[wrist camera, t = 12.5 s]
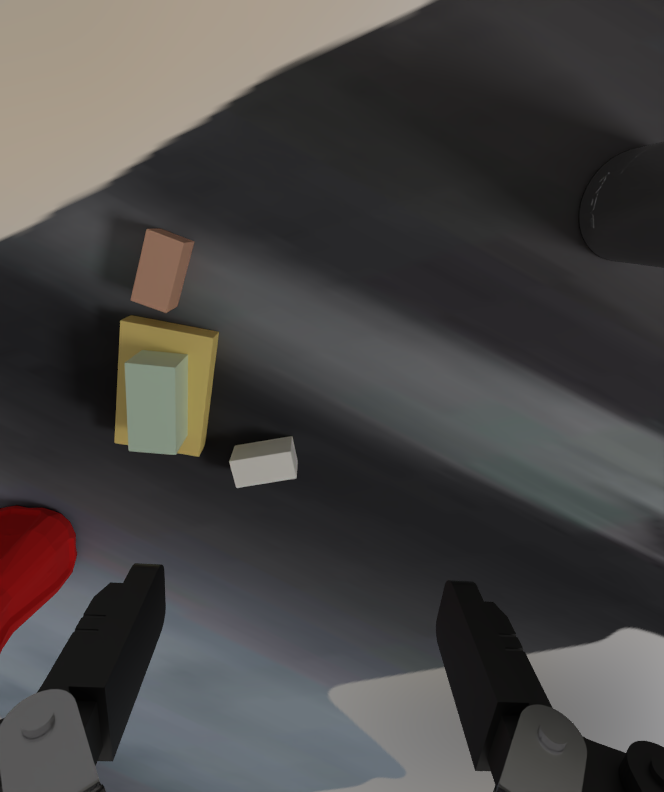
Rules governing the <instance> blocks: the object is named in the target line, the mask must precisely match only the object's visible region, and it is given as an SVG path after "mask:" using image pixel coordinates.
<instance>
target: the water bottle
mask: <svg viewBox="0 0 664 792" xmlns="http://www.w3.org/2000/svg"><path fill="white" fill-rule="evenodd" d="M76 556H77V551H76V534H75V532H74V530H73V527H72V525H71V523H70V521H68V520H67V519H66V518H65V517H64V516H63V515H62V514H61V513H58V512H55V511H52V510H49V509H46V508H26V507H21V506H17V505H16V506H10V507H4V508H0V653H1V651H2V649H3V647H4V646H5V644H6V643H7V641H8V640H9V638H10V637H11V635H12V634H13V632H14V631H15V630H17V629H18V628H19V627H20V626H21V625H22V624H23V623H24V622H25V621H26V620H27V619H29V618H30V617H31V616H32V615H33V614H34V613H35V612H36V611H37V610H38V609H39V608H41V607H42V606H43V605H44V604H45V603H46V602H47V601H48V600H49V599H50V598H51V597H53V596H54V595H55V594H56V593H57V592H58V591H59V589H60V588H61V587H62V585H63V584H64V583H65V581H66V580H67V579H68V577H69V576H70V575H71V573H72V572H73V568H74V565H75V561H76Z"/></svg>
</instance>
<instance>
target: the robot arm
mask: <svg viewBox="0 0 664 792" xmlns="http://www.w3.org/2000/svg"><path fill="white" fill-rule="evenodd" d="M579 225H580V229H581V233H582V236H583V238H584V240H585V242H586V244H587V246H588V247H589V248H590V249H591V250H592V251H593V252H594V253H595V254H597V255H598V256H600V257H601V258H604V259H607V260H610V261H617V262H625V263H632V264H640V265H646V266H654V267H662V268H664V142H661V143H656V144H652V145H648V146H644V147H639V148H635V149H631V150H629V151H626V152H623V153H621V154H619V155H617V156H615V157H614V158H612V159H610V160H609V161H608V162H607V163H606V164H604V165H603V166H602V167H601V168H600V169H599V170H598V172H597V173H596V174H595V175H594V176H593V178H592V179H591V181H590V183H589V184H588V186H587V188H586V190H585V193H584V195H583V198H582V201H581V206H580V212H579ZM165 609H166V604H165V578H164V567H163V565H157V564H138V563H135V564H134V565H133V566H132V567H131V569H130V571H129V573H128V575H127V577H126V579H125V581H124V582H123V583H109V584H108V585H107V586H106V587H105V588H104V589H102V590H101V591H100V592H99V593H98V594H97V595H96V596H94V598H93V599H92V601H91V603H90V604H89V606H88V608H87V609H86V611H85V613H84V616H83V618H81V620H80V621H79V623H78V625H77V626H76V628H75V632H73V633H72V635H71V637H70V638H69V640H68V642H67V643H66V645H65V647H64V648H63V650H62V652H61V654H60V655H59V657H58V659H57V660H56V662H55V664H54V665H53V667H52V669H51V671H50V672H49V674H48V676H47V677H46V679H45V681H44V682H43V684H42V686H41V687H40V689H39V690H38V692H37V693H36V694H33V695H31V696H29V697H27V698H26V699H24V700H23V701H21V702H20V703H19V704H17V705H16V706H15V707H14V708H13V709H12V710H11V711H10V712H9V713H8V714H7V716H6V717H5V718H3V719H1V720H0V792H106V791H105V788H104V786H103V785H101V784H100V781H99V778H98V774H97V771H96V768H95V766H96V763H97V761H113V759H114V757H115V754H116V751H117V749H118V746H119V743H120V741H121V738H122V735H123V733H124V730H125V727H126V725H127V722H128V719H129V716H130V714H131V711H132V708H133V706H134V703H135V700H136V698H137V695H138V692H139V690H140V687H141V684H142V682H143V679H144V676H145V674H146V671H147V668H148V666H149V663H150V660H151V658H152V655H153V652H154V650H155V647H156V644H157V641H158V639H159V636H160V633H161V631H162V627H163V623H164V618H165ZM436 637H437V643H438V646H439V650H440V653H441V657H442V660H443V663H444V667H445V670H446V673H447V677H448V680H449V683H450V687H451V690H452V694H453V697H454V700H455V704H456V707H457V711H458V714H459V717H460V721H461V724H462V727H463V731H464V734H465V738H466V741H467V744H468V748H469V751H470V754H471V758H472V761H473V765H474V768H475V771H491V773H492V776H493V779H494V782H495V788H494V791H493V792H664V747H662V746H660V745H658V744H655V743H652V742H648V741H637V742H634V743H633V744H631V745H630V746H629V748H628V750H627V752H626V753H624V752H621V751H618V750H616V749H613V748H610V747H607V746H605V745H602V744H599V743H596V742H593V741H591V740H588V739H586V738H585V737H583V736H582V735H581V733H580V732H579V730H578V729H577V728H576V726H575V725H574V724H573V723H572V722H571V721H570V720H569V719H568V718H567V717H566V716H564V715H563V714H562V713H560V712H559V711H557V710H555V709H553V708H552V706H551V704H550V702H549V700H548V698H547V696H546V694H545V692H544V690H543V688H542V686H541V684H540V682H539V680H538V678H537V676H536V674H535V672H534V670H533V668H532V666H531V664H530V662H529V660H528V658H527V656H526V654H525V652H523V647H522V645H521V643H520V641H519V639H518V638H517V637H516V633H515V631H514V629H513V627H512V625H511V623H510V621H509V619H508V617H507V616H506V615H505V614H504V613H503V612H502V611H501V610H500V609H499V608H498V607H497V606H496V604H495V603H494V602H484V601H483V598H482V596H481V594H480V592H479V590H478V587H477V585H476V584H475V583H474V582H470V581H450V580H448V581H447V582H446V583H445V587H444V591H443V595H442V599H441V603H440V608H439V612H438V616H437V621H436Z"/></svg>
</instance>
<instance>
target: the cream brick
mask: <svg viewBox="0 0 664 792" xmlns="http://www.w3.org/2000/svg"><path fill="white" fill-rule="evenodd" d="M229 463H230V467H231V470H232V474H233V477H234V481H235V485H236V488H240V487H246V486H252V485H258V484H264V483H270V482H276V481H283V480H289V479H295V478H297V463H298V461H297V456H296V452H295V447H294V443H293V438H292V436H290V437H284V438H278V439H272V440H266V441H259V442H253V443H247V444H241V445H235V446H234V449H233V452H232V455H231V458H230V460H229Z"/></svg>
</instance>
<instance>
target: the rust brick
mask: <svg viewBox="0 0 664 792" xmlns="http://www.w3.org/2000/svg"><path fill="white" fill-rule="evenodd" d="M193 245H194V241H192V240H189V239H186V238H184V237H181V236H179V235H176V234H173V233H171V232H168V231H165V230H163V229H147V230H146V234H145V239H144V243H143V247H142V252H141V256H140V261H139V265H138V270H137V274H136V279H135V283H134V287H133V292H132V296H131V301H134V302H136V303H139V304H142V305H145V306H148V307H151V308H154V309H156V310H159V311H162V312H165V313H167V312H169V311H170V310H172V309H174V308H175V307H177V306H178V302H179V298H180V294H181V291H182V287H183V283H184V279H185V275H186V271H187V268H188V264H189V260H190V256H191V252H192V248H193Z"/></svg>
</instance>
